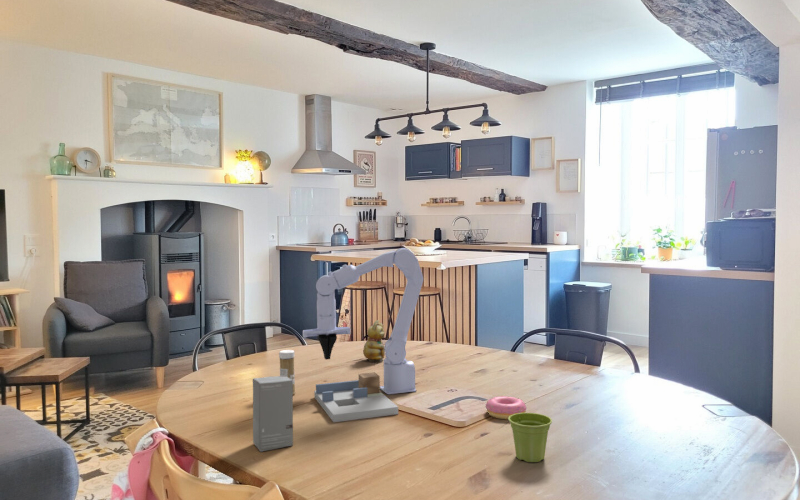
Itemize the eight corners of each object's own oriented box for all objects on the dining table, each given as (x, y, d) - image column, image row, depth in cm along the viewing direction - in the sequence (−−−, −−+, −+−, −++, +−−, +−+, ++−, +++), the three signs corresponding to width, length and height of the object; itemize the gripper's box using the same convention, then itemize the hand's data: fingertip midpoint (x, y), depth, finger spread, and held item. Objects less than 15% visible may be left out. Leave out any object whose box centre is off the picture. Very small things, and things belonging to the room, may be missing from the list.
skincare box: (259, 452, 139) (258, 384, 138) (252, 442, 145) (250, 377, 144) (295, 446, 143) (294, 379, 142) (286, 436, 149) (285, 372, 148)
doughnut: (529, 410, 168) (529, 395, 167) (523, 423, 157) (523, 407, 157) (489, 406, 171) (489, 392, 171) (481, 419, 161) (481, 403, 161)
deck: (372, 391, 188) (371, 376, 187) (398, 414, 165) (398, 397, 165) (314, 397, 182) (314, 382, 181) (333, 422, 159) (333, 405, 159)
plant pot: (503, 450, 138) (503, 413, 138) (544, 448, 139) (544, 411, 139) (515, 467, 129) (514, 426, 129) (558, 465, 130) (558, 425, 130)
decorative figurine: (384, 363, 224) (384, 322, 223) (362, 363, 224) (361, 323, 223) (385, 357, 233) (385, 318, 233) (364, 357, 234) (363, 318, 233)
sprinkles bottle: (297, 395, 184) (296, 351, 183) (283, 397, 182) (282, 353, 181) (291, 391, 188) (290, 348, 187) (277, 394, 185) (276, 350, 185)
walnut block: (374, 388, 183) (374, 372, 183) (379, 393, 178) (379, 376, 178) (358, 390, 181) (358, 373, 181) (363, 394, 177) (363, 377, 176)
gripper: (305, 318, 180) (306, 363, 180) (352, 315, 184) (353, 359, 185) (301, 314, 186) (301, 358, 187) (346, 311, 191) (347, 354, 192)
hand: (327, 358), depth 186 cm, fingers closed
